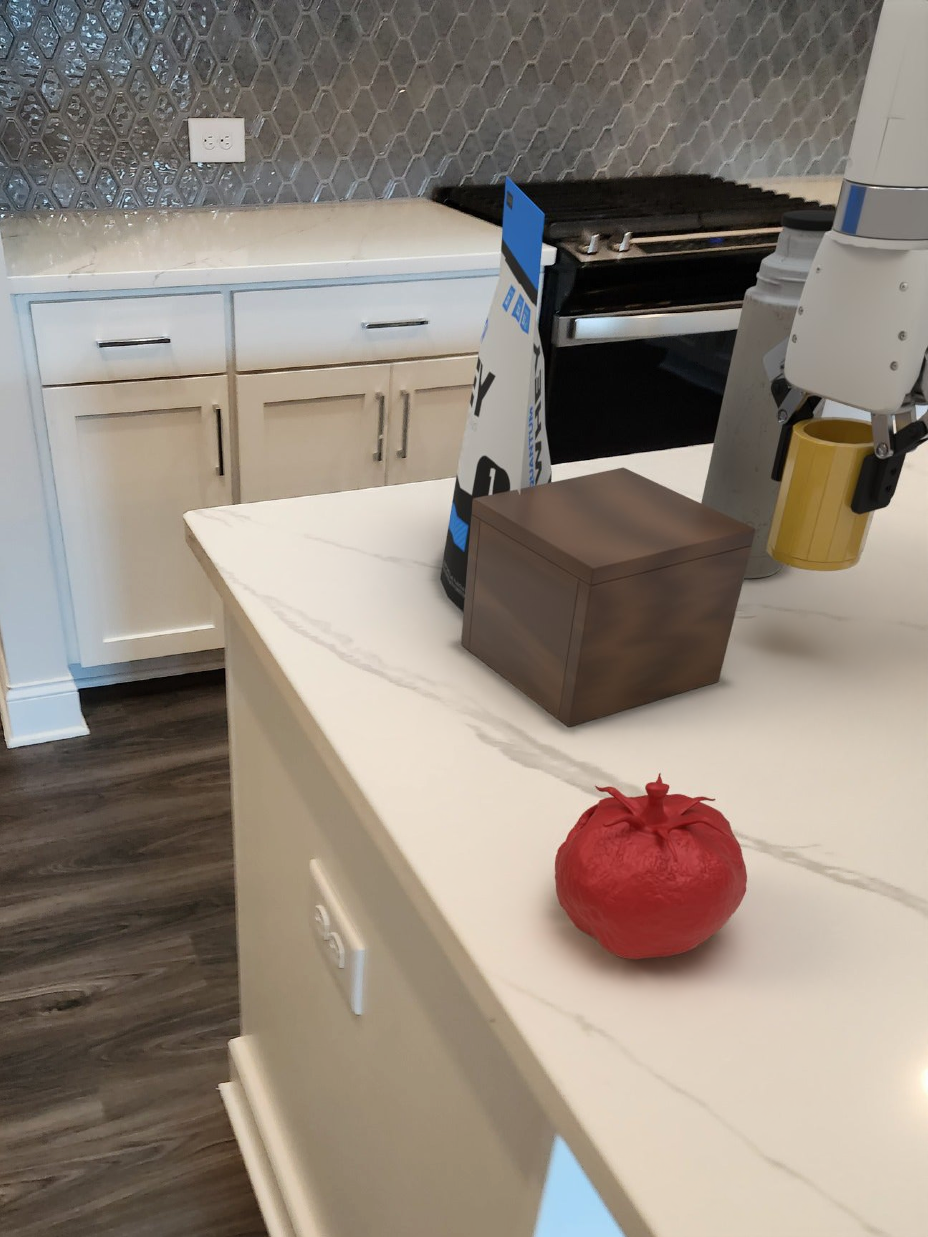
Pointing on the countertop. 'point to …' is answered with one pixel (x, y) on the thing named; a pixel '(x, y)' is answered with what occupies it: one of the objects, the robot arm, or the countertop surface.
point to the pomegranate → (650, 872)
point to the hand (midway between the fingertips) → (828, 490)
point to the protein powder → (503, 390)
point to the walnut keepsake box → (602, 591)
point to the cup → (821, 496)
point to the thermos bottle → (760, 387)
